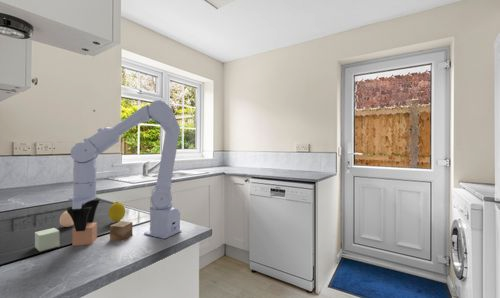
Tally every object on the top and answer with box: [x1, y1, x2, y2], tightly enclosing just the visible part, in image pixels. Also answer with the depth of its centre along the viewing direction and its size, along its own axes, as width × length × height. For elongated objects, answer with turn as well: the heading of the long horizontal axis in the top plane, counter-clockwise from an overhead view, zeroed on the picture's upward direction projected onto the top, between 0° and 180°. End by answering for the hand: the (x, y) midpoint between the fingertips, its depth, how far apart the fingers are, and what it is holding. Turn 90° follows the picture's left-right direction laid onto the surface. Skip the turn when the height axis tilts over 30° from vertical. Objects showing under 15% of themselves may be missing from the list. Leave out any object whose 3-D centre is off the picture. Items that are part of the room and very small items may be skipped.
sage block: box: [34, 227, 61, 252], centre depth 69 cm, size 4×4×4 cm
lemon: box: [108, 201, 126, 223], centre depth 90 cm, size 6×6×8 cm
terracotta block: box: [71, 222, 98, 247], centre depth 72 cm, size 5×5×5 cm
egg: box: [59, 210, 74, 228], centre depth 85 cm, size 5×5×6 cm
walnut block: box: [109, 220, 133, 242], centre depth 76 cm, size 4×4×4 cm
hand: (85, 226), depth 72 cm, fingers open, 7 cm apart
